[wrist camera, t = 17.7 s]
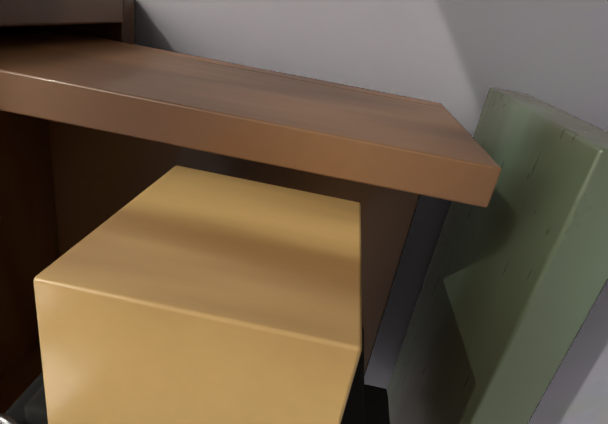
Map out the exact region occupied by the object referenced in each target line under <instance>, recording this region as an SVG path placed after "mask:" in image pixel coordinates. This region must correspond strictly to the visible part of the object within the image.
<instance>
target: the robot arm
mask: <svg viewBox="0 0 608 424" xmlns="http://www.w3.org/2000/svg"><path fill="white" fill-rule="evenodd" d="M0 424H48V417H47V408H46V398H45V388H44V379H43V371H42V373H41V374H40V375H39V376H38V377H37V378H36V379H35V380H34V381H33V383H32V384H31V385H30V386H29V387H28V388H27V389H26V390H25V391H24V393H23V394H22V395H21V396H20V397H19V398H18V399H17V400H16V401H15V402H14V404H13V405H12V406H11V407H10V408H9V409H8V410H7V411H6V412H5V413H0ZM341 424H390V417H389V404H388V394H387V390H386V389H384V388H379V387H375V386H370V385H365V384H364V329H363V327H362V352H361V355H360V359H359V362H358V366H357V369H356V372H355V376H354V379H353V383H352V386H351V390H350V393H349V396H348V400H347V403H346V407H345V410H344V414H343V417H342V421H341Z"/></svg>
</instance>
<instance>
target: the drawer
mask: <svg viewBox="0 0 608 424" xmlns="http://www.w3.org/2000/svg"><path fill="white" fill-rule="evenodd" d="M175 166H182V167H187V168H192V169H197V170H202V171H207V172H212V173H217V174H221V175H226V176H231V177H236V178H241V179H246V180H251V181H256V182H261V183H266V184H271V185H276V186H280V187H285V188H290V189H295V190H300V191H305V192H310V193H315V194H320V195H325V196H330V197H335V198H340V199H344V200H349V201H354V202H359V203H360V204H361V274H362V327H363V329H364V376H365V372H366V369H367V366H368V363H369V359H370V356H371V353H372V350H373V346H374V343H375V340H376V336H377V333H378V330H379V327H380V323H381V320H382V317H383V314H384V310H385V307H386V304H387V301H388V297H389V294H390V291H391V288H392V284H393V281H394V278H395V275H396V271H397V268H398V265H399V261H400V258H401V255H402V252H403V248H404V245H405V242H406V239H407V235H408V232H409V229H410V226H411V222H412V219H413V216H414V213H415V209H416V206H417V203H418V199H419V196H420V195H425V196H430V197H435V198H440V199H444V200H449V201H451V204H450V207H449V210H448V212H447V215H446V218H445V221H444V224H443V227H442V230H441V233H440V236H439V239H438V242H437V245H436V248H435V250H434V253H433V256H432V259H431V262H430V265H429V268H428V271H427V274H426V277H425V280H424V283H423V286H422V288H421V291H420V294H419V297H418V300H417V303H416V306H415V309H414V312H413V315H412V318H411V321H410V324H409V327H408V329H407V332H406V335H405V338H404V341H403V344H402V347H401V350H400V353H399V356H398V359H397V362H396V365H395V367H394V370H393V373H392V376H391V379H390V382H389V385H388V388H387V394H388V404H389V417H390V424H528V422H529V420H530V419H531V417H532V415H533V413H534V411H535V409H536V408H537V406H538V404H539V402H540V400H541V399H542V397H543V395H544V393H545V391H546V390H547V388H548V386H549V384H550V382H551V381H552V379H553V377H554V375H555V373H556V372H557V370H558V368H559V366H560V364H561V363H562V361H563V359H564V357H565V355H566V354H567V352H568V350H569V348H570V346H571V344H572V343H573V341H574V339H575V337H576V335H577V334H578V332H579V330H580V328H581V326H582V325H583V323H584V321H585V319H586V317H587V316H588V314H589V312H590V310H591V308H592V307H593V305H594V303H595V301H596V299H597V298H598V296H599V294H600V292H601V290H602V289H603V287H604V285H605V283H606V281H607V279H608V132H606V131H604V130H602V129H600V128H598V127H596V126H593V125H591V124H589V123H587V122H585V121H583V120H581V119H578V118H576V117H574V116H572V115H570V114H568V113H566V112H564V111H561V110H559V109H557V108H555V107H553V106H551V105H549V104H547V103H544V102H542V101H540V100H538V99H536V98H534V97H532V96H529V95H527V94H522V93H517V92H512V91H507V90H502V89H496V88H491V89H490V90H489V93H488V95H487V98H486V101H485V104H484V107H483V110H482V113H481V116H480V119H479V122H478V125H477V128H476V131H475V134H474V136H473V137H472V136H471V135H470V134H469V133H468V132H467V131H466V130H465V129H464V128H463V126H462V125H461V124H460V123H459V122H458V121H457V120H456V119H455V118H454V117H453V116H452V115H451V114H450V113H449V111H448V110H447V109H446V108H445V107H444V106H443V105H442V104H441V103H436V102H430V101H425V100H420V99H415V98H410V97H405V96H399V95H394V94H389V93H384V92H379V91H373V90H368V89H363V88H358V87H353V86H348V85H342V84H337V83H332V82H327V81H322V80H317V79H311V78H306V77H301V76H296V75H291V74H286V73H280V72H275V71H270V70H265V69H260V68H254V67H249V66H244V65H239V64H234V63H229V62H223V61H218V60H213V59H208V58H203V57H198V56H192V55H187V54H182V53H177V52H172V51H167V50H161V49H156V48H151V47H146V46H141V45H135V44H130V43H125V42H120V41H115V40H110V39H104V38H99V37H94V36H89V35H84V34H79V33H73V32H68V31H63V30H58V29H53V28H48V27H42V26H13V27H0V413H5V412H6V411H7V410H8V409H9V408H10V407H11V406H12V405H13V404H14V402H15V401H16V400H17V399H18V398H19V397H20V396H21V395H22V394H23V393H24V391H25V390H26V389H27V388H28V387H29V386H30V385H31V384H32V383H33V381H34V380H35V379H36V378H37V377H38V376H39V375H40V374H41V373H42V371H43V369H42V359H41V349H40V340H39V330H38V320H37V311H36V301H35V291H34V282H33V281H34V278H35V276H37V275H38V274H39V273H41V272H42V271H43V270H44V269H46V268H47V267H48V266H49V265H51V264H52V263H53V262H54V261H56V260H57V259H58V258H59V257H61V256H62V255H63V254H65V253H66V252H67V251H68V250H70V249H71V248H72V247H73V246H75V245H76V244H77V243H78V242H80V241H81V240H82V239H84V238H85V237H86V236H87V235H89V234H90V233H91V232H92V231H94V230H95V229H96V228H97V227H99V226H100V225H101V224H102V223H104V222H105V221H106V220H108V219H109V218H110V217H111V216H113V215H114V214H115V213H116V212H118V211H119V210H120V209H121V208H123V207H124V206H125V205H127V204H128V203H129V202H130V201H132V200H133V199H134V198H135V197H137V196H138V195H139V194H140V193H142V192H143V191H144V190H145V189H147V188H148V187H149V186H151V185H152V184H153V183H154V182H156V181H157V180H158V179H159V178H161V177H162V176H163V175H164V174H166V173H167V172H168V171H170V170H171V169H172V168H173V167H175Z"/></svg>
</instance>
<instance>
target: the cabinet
mask: <svg viewBox="0 0 608 424" xmlns="http://www.w3.org/2000/svg"><path fill="white" fill-rule="evenodd" d="M13 26H42V27H48V28H53V29H58V30H63V31H68V32H73V33H79V34H84V35H89V36H94V37H99V38H104V39H110V40H115V41H120V42H125V43H130V44H134V0H0V27H13Z"/></svg>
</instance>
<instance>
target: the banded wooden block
mask: <svg viewBox="0 0 608 424" xmlns="http://www.w3.org/2000/svg"><path fill="white" fill-rule="evenodd" d="M33 282H34V291H35V301H36V311H37V320H38V330H39V340H40V349H41V359H42V369H43V379H44V388H45V398H46V408H47V417H48V424H341V421H342V417H343V414H344V410H345V407H346V403H347V400H348V396H349V393H350V390H351V386H352V383H353V379H354V376H355V372H356V369H357V366H358V362H359V359H360V355H361V352H362V274H361V204H360V203H359V202H354V201H349V200H344V199H340V198H335V197H330V196H325V195H320V194H315V193H310V192H305V191H300V190H295V189H290V188H285V187H280V186H276V185H271V184H266V183H261V182H256V181H251V180H246V179H241V178H236V177H231V176H226V175H221V174H217V173H212V172H207V171H202V170H197V169H192V168H187V167H182V166H175V167H173V168H172V169H171V170H170V171H168V172H167V173H166V174H164V175H163V176H162V177H161V178H159V179H158V180H157V181H156V182H154V183H153V184H152V185H151V186H149V187H148V188H147V189H145V190H144V191H143V192H142V193H140V194H139V195H138V196H137V197H135V198H134V199H133V200H132V201H130V202H129V203H128V204H127V205H125V206H124V207H123V208H121V209H120V210H119V211H118V212H116V213H115V214H114V215H113V216H111V217H110V218H109V219H108V220H106V221H105V222H104V223H102V224H101V225H100V226H99V227H97V228H96V229H95V230H94V231H92V232H91V233H90V234H89V235H87V236H86V237H85V238H84V239H82V240H81V241H80V242H78V243H77V244H76V245H75V246H73V247H72V248H71V249H70V250H68V251H67V252H66V253H65V254H63V255H62V256H61V257H59V258H58V259H57V260H56V261H54V262H53V263H52V264H51V265H49V266H48V267H47V268H46V269H44V270H43V271H42V272H41V273H39V274H38V275H37V276H35V278H34V281H33Z"/></svg>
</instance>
